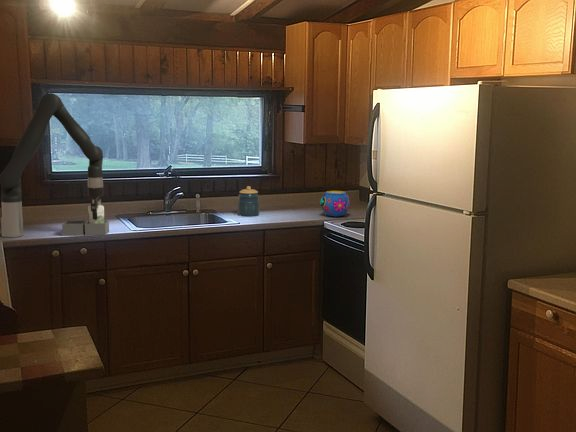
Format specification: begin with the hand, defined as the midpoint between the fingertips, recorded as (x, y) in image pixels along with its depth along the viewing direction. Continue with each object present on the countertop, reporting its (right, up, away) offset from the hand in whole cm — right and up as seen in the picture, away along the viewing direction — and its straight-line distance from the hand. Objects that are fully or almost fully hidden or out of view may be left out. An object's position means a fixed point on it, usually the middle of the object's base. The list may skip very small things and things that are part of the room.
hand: (96, 218), depth 330 cm
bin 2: (0, -8, +1) cm, 8 cm away
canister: (+73, +1, +66) cm, 98 cm away
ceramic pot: (+126, +1, +64) cm, 141 cm away
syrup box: (0, -8, +1) cm, 8 cm away
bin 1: (-11, -8, 0) cm, 14 cm away
